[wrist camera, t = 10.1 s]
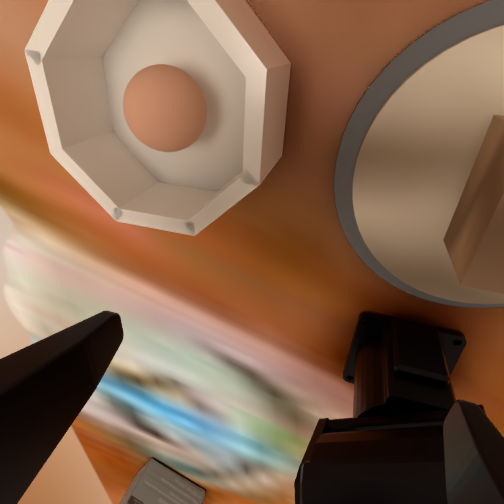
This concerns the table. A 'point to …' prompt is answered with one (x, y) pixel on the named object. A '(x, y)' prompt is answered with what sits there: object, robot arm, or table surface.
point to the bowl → (112, 92)
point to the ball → (164, 108)
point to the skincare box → (161, 487)
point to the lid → (440, 175)
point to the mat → (401, 67)
